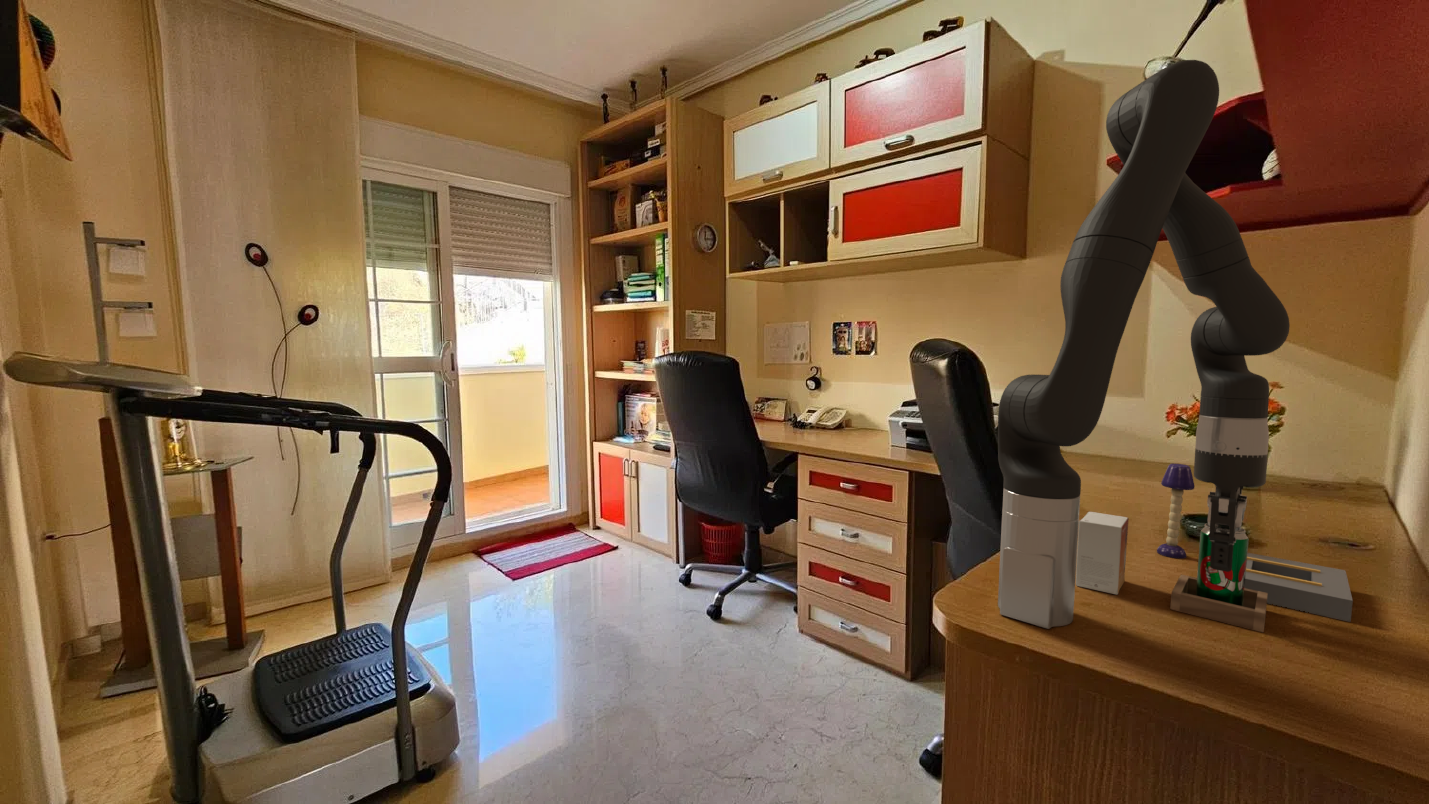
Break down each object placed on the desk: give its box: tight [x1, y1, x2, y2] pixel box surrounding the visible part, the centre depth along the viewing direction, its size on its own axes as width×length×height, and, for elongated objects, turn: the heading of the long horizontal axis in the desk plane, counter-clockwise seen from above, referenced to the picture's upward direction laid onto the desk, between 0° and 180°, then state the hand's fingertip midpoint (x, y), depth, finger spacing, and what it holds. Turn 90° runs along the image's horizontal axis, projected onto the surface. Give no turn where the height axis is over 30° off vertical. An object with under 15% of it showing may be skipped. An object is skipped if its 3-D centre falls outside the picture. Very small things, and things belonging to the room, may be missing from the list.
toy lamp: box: [1156, 463, 1195, 559], centre depth 103 cm, size 5×5×17 cm
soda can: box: [1196, 522, 1249, 606], centre depth 81 cm, size 5×5×12 cm
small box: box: [1075, 511, 1129, 596], centre depth 90 cm, size 8×6×10 cm
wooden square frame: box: [1170, 574, 1268, 633], centre depth 81 cm, size 10×10×2 cm
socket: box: [1245, 552, 1354, 623], centre depth 88 cm, size 16×14×3 cm
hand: (1223, 561), depth 81 cm, fingers open, 8 cm apart
